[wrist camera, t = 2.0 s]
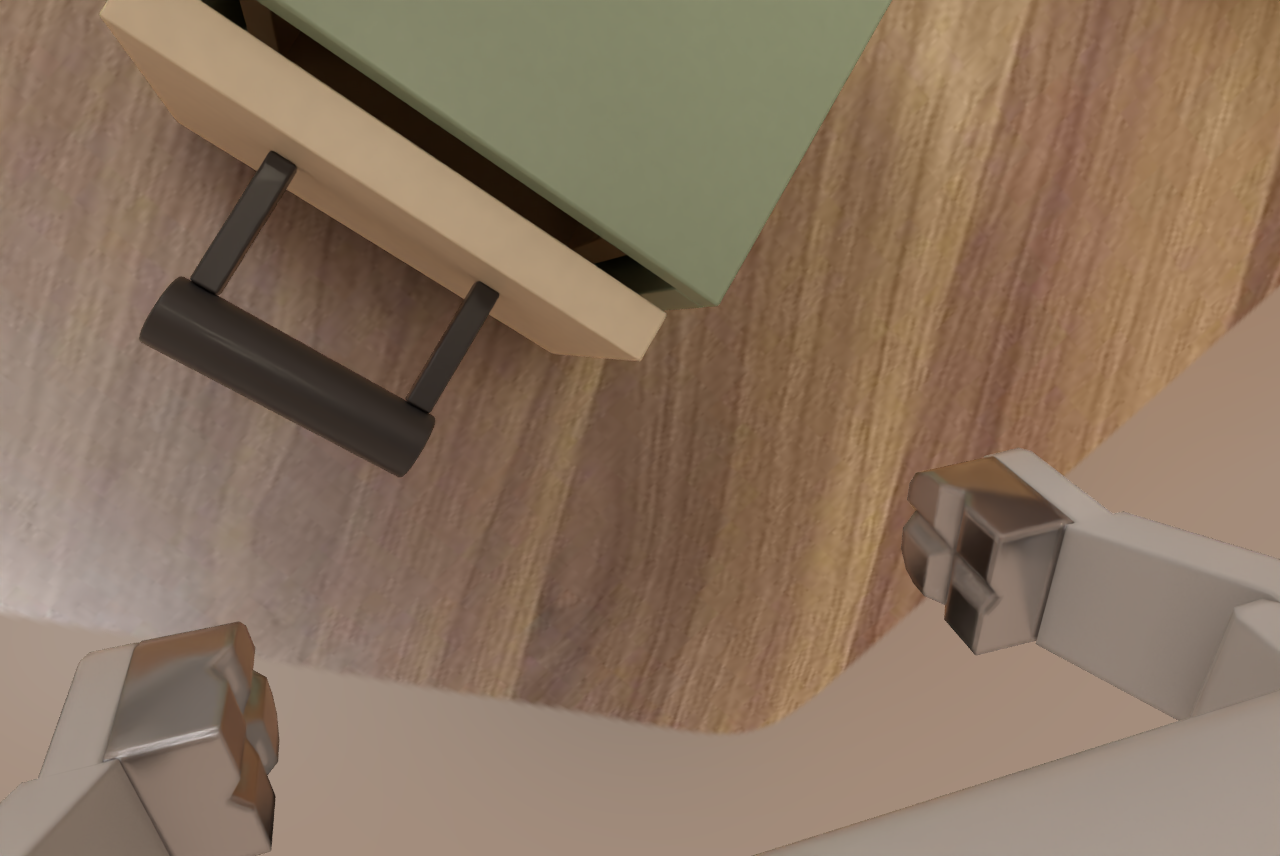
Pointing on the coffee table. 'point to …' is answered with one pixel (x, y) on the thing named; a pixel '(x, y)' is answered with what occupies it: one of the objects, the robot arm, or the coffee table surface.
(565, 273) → the drawer
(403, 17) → the cabinet
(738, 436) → the coffee table surface
